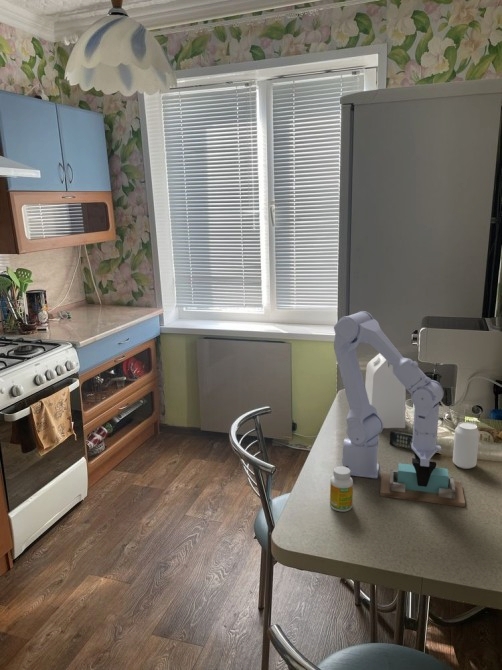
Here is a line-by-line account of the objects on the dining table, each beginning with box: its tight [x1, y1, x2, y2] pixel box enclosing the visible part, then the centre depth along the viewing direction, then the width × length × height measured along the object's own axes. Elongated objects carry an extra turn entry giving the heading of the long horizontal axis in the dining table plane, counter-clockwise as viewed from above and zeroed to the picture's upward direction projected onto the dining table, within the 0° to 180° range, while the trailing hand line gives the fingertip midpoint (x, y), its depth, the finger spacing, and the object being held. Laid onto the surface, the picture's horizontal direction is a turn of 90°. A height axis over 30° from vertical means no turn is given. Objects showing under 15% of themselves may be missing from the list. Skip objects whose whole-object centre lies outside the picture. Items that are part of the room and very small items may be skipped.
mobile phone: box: [389, 429, 413, 451], centre depth 155 cm, size 5×3×15 cm
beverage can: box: [452, 421, 480, 470], centre depth 144 cm, size 6×6×12 cm
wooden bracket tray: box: [379, 469, 466, 508], centre depth 132 cm, size 20×10×3 cm, turn 74°
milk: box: [364, 352, 407, 429], centre depth 173 cm, size 12×12×26 cm
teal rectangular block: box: [397, 462, 450, 494], centre depth 132 cm, size 12×4×5 cm, turn 74°
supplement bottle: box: [329, 465, 354, 513], centre depth 126 cm, size 5×5×10 cm
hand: (421, 478), depth 132 cm, fingers open, 6 cm apart
